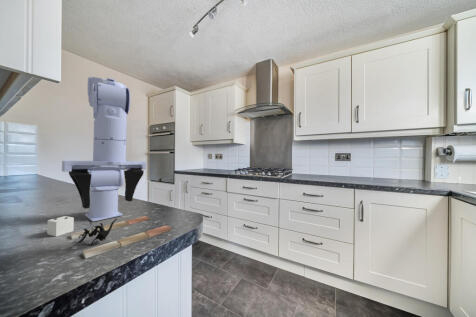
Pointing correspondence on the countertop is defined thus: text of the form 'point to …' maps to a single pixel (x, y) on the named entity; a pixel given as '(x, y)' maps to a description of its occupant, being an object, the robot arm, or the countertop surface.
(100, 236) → the creature
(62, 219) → the white rectangular block
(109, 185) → the robot arm
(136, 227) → the countertop surface
